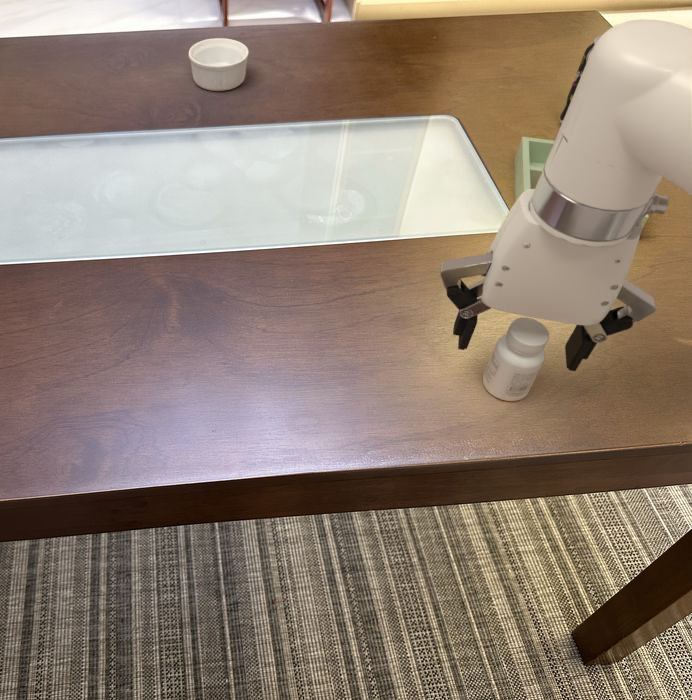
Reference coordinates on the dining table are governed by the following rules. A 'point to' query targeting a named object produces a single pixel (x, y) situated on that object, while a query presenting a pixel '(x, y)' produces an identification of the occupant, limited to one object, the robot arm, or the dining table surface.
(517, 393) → the pill bottle
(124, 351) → the dining table surface
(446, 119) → the dining table surface
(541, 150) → the grid
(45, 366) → the dining table surface
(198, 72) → the ramekin
